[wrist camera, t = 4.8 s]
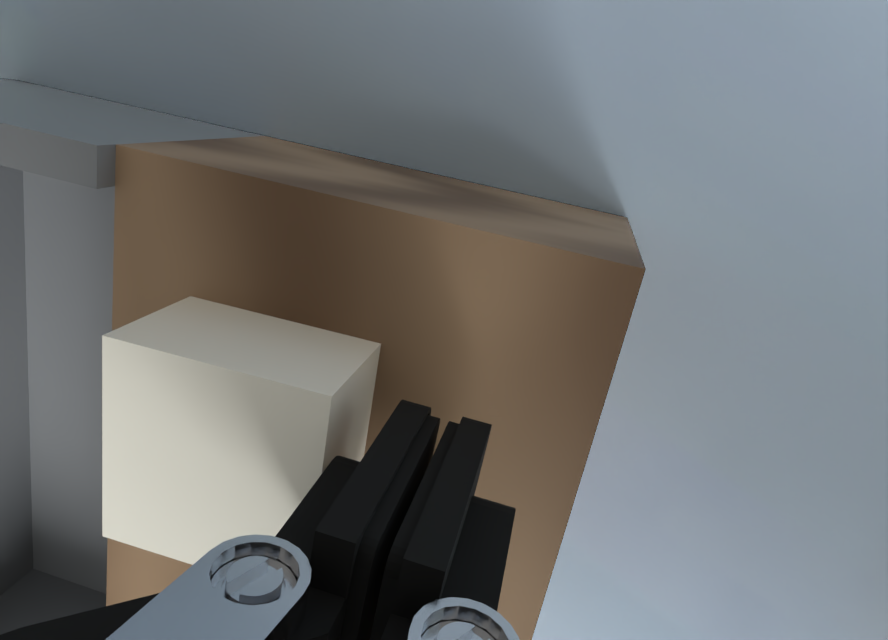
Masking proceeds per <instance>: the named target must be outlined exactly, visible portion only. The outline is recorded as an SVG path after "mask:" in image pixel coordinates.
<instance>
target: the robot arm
mask: <svg viewBox="0 0 888 640" xmlns="http://www.w3.org/2000/svg"><path fill="white" fill-rule="evenodd" d="M439 425H440V418H437V417H434V416H431V407H428V406H424V405H421V404H417V403H413V402H410V401H406V400H403V399H402V400H401V401H400V402H399V404H398V405H397V407H396V408H395V410H394V411H393V413H392V414H391V416H390V417H389V419H388V420H387V422H386V423H385V425H384V427H383V428H382V430H381V431H380V433H379V434H378V436H377V437H376V439H375V440H374V442H373V443H372V445H371V446H370V448H369V449H368V451H367V452H366V454H365V455H364V457H363V458H362V460H361V461H360V462H359V461H356V460H353V459H349V458H346V457H343V456H336V457H335V458H334V459H333V460H332V461H331V462H330V464H329V465H328V466H327V468H326V469H325V470H324V472H323V473H322V474H321V476H320V477H319V478H318V480H317V481H316V482H315V484H314V485H313V486H312V488H311V489H310V490H309V492H308V493H307V494H306V496H305V497H304V498H303V500H302V501H301V503H300V504H299V505H298V507H297V508H296V509H295V511H294V512H293V513H292V515H291V516H290V517H289V519H288V520H287V521H286V523H285V524H284V525H283V527H282V528H281V529H280V531H279V532H278V533H277V535H276V536H275V537H274V536H269V535H257V534H254V535H246V536H238V537H235V538H233V539H230V540H227V541H224V542H222V543H220V544H219V545H217V546H216V547H214V548H213V549H211V550H210V551H208V552H207V553H206V554H205V555H204V556H203V557H201V558H200V559H199V560H198V561H197V562H196V563H194V564H193V565H192V566H191V567H190V568H189V569H187V570H186V571H185V572H184V573H183V574H182V575H180V576H179V577H178V578H177V579H176V580H174V581H173V582H172V583H171V584H170V585H169V586H167V587H166V588H165V589H164V590H163V591H162V592H160V593H157V594H153V595H149V596H145V597H141V598H137V599H133V600H129V601H125V602H121V603H117V604H113V605H109V606H105V607H101V608H97V609H93V610H89V611H85V612H81V613H77V614H73V615H69V616H65V617H61V618H57V619H53V620H49V621H45V622H41V623H37V624H33V625H29V626H25V627H21V628H18V629H15V630H13V631H10V632H7V633H4V634H1V635H0V640H520V639H519V637H518V635H517V634H516V632H515V630H514V629H513V627H512V625H511V624H510V623H509V622H508V621H507V620H506V619H505V618H504V617H503V616H502V615H501V614H500V613H499V612H497V609H498V604H499V598H500V593H501V587H502V582H503V577H504V571H505V566H506V560H507V555H508V550H509V544H510V539H511V533H512V528H513V522H514V517H515V511H516V508H514V507H510V506H507V505H504V504H500V503H497V502H493V501H490V500H487V499H483V498H480V497H477V496H474V495H475V491H476V487H477V483H478V479H479V475H480V471H481V467H482V463H483V459H484V455H485V451H486V447H487V443H488V439H489V435H490V431H491V427H492V425H491V424H488V423H484V422H481V421H477V420H474V419H470V418H467V417H462V419H461V421H460V424H458V423H455V422H451V421H449V422H448V424H447V426H446V428H445V430H444V433H443V435H442V437H441V439H440V441H439V444H438V446H437V448H436V450H435V452H434V448H435V443H436V439H437V434H438V430H439ZM433 452H434V454H433Z"/></svg>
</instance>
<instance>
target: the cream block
mask: <svg viewBox="0 0 888 640" xmlns="http://www.w3.org/2000/svg"><path fill="white" fill-rule="evenodd" d="M380 348H381V344H380V343H376V342H372V341H368V340H364V339H360V338H356V337H352V336H348V335H344V334H340V333H336V332H332V331H328V330H324V329H320V328H316V327H312V326H308V325H304V324H300V323H296V322H292V321H288V320H284V319H280V318H276V317H272V316H268V315H264V314H260V313H256V312H252V311H248V310H244V309H240V308H236V307H232V306H228V305H224V304H220V303H216V302H212V301H208V300H204V299H200V298H196V297H192V296H190V297H187V298H185V299H183V300H181V301H178V302H176V303H174V304H172V305H169V306H167V307H165V308H163V309H160V310H158V311H156V312H154V313H151V314H149V315H147V316H145V317H142V318H140V319H138V320H136V321H133V322H131V323H129V324H127V325H124V326H122V327H120V328H118V329H115V330H113V331H111V332H109V333H106V334H104V335H102V536H103V537H106V538H110V539H113V540H116V541H119V542H122V543H125V544H128V545H132V546H135V547H138V548H141V549H144V550H147V551H150V552H154V553H157V554H160V555H163V556H166V557H169V558H172V559H176V560H179V561H182V562H185V563H188V564H191V565H193V564H194V563H196V562H197V561H198V560H199V559H200V558H201V557H203V556H204V555H205V554H206V553H207V552H208V551H210V550H211V549H213V548H214V547H216V546H217V545H219V544H220V543H222V542H224V541H227V540H230V539H233V538H235V537H238V536H246V535H254V534H257V535H269V536H274V537H275V536H276V535H277V533H278V532H279V531H280V529H281V528H282V527H283V525H284V524H285V523H286V521H287V520H288V519H289V517H290V516H291V515H292V513H293V512H294V511H295V509H296V508H297V507H298V505H299V504H300V503H301V501H302V500H303V498H304V497H305V496H306V494H307V493H308V492H309V490H310V489H311V488H312V486H313V485H314V484H315V482H316V481H317V480H318V478H319V477H320V476H321V474H322V473H323V472H324V470H325V469H326V468H327V466H328V465H329V464H330V462H331V461H332V460H333V459H334V458H335V457H336V456H343V457H346V458H349V459H353V460H356V461H359V462H360V461H361V460H362V458H363V457H364V452H365V445H366V439H367V432H368V426H369V419H370V413H371V406H372V400H373V393H374V387H375V380H376V374H377V367H378V361H379V354H380Z"/></svg>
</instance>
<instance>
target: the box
mask: <svg viewBox="0 0 888 640" xmlns="http://www.w3.org/2000/svg"><path fill="white" fill-rule="evenodd" d="M255 136H263V135H259V134H254V133H250V132H245V131H241V130H236V129H232V128H227V127H223V126H219V125H214V124H210V123H205V122H201V121H196V120H192V119H187V118H183V117H179V116H174V115H170V114H165V113H161V112H156V111H152V110H148V109H143V108H139V107H134V106H130V105H125V104H121V103H116V102H112V101H108V100H103V99H99V98H94V97H90V96H85V95H81V94H76V93H72V92H68V91H63V90H59V89H54V88H50V87H45V86H41V85H37V84H32V83H28V82H23V81H19V80H14V79H0V635H1V634H4V633H7V632H10V631H13V630H15V629H18V628H21V627H25V626H29V625H33V624H37V623H41V622H45V621H49V620H53V619H57V618H61V617H65V616H69V615H73V614H77V613H81V612H85V611H89V610H93V609H97V608H101V607H105V606H106V587H107V540H108V538H106V537H103V536H102V335H104V334H106V333H109V332H111V331H112V304H113V256H114V209H115V162H116V144H132V143H149V142H167V141H185V140H202V139H220V138H237V137H255Z"/></svg>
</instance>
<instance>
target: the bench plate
mask: <svg viewBox="0 0 888 640" xmlns="http://www.w3.org/2000/svg"><path fill="white" fill-rule="evenodd" d="M644 272H645V266H644V263H643V261H642V258H641V255H640V252H639V249H638V246H637V244H636V241H635V238H634V235H633V232H632V229H631V227H630V224H629V221H628V218H627V217H623V216H618V215H614V214H609V213H605V212H600V211H596V210H592V209H587V208H583V207H578V206H574V205H569V204H565V203H560V202H556V201H552V200H547V199H543V198H538V197H534V196H529V195H525V194H521V193H516V192H512V191H507V190H503V189H498V188H494V187H489V186H485V185H481V184H476V183H472V182H467V181H463V180H458V179H454V178H449V177H445V176H441V175H436V174H432V173H427V172H423V171H418V170H414V169H410V168H405V167H401V166H396V165H392V164H387V163H383V162H378V161H374V160H370V159H365V158H361V157H356V156H352V155H347V154H343V153H338V152H334V151H330V150H325V149H321V148H316V147H312V146H307V145H303V144H298V143H294V142H290V141H285V140H281V139H276V138H272V137H267V136H255V137H237V138H220V139H202V140H185V141H167V142H149V143H132V144H116V162H115V209H114V256H113V304H112V331H113V330H115V329H118V328H120V327H122V326H124V325H127V324H129V323H131V322H133V321H136V320H138V319H140V318H142V317H145V316H147V315H149V314H151V313H154V312H156V311H158V310H160V309H163V308H165V307H167V306H169V305H172V304H174V303H176V302H178V301H181V300H183V299H185V298H187V297H190V296H192V297H196V298H200V299H204V300H208V301H212V302H216V303H220V304H224V305H228V306H232V307H236V308H240V309H244V310H248V311H252V312H256V313H260V314H264V315H268V316H272V317H276V318H280V319H284V320H288V321H292V322H296V323H300V324H304V325H308V326H312V327H316V328H320V329H324V330H328V331H332V332H336V333H340V334H344V335H348V336H352V337H356V338H360V339H364V340H368V341H372V342H376V343H380V344H381V348H380V354H379V361H378V367H377V374H376V380H375V387H374V393H373V400H372V406H371V413H370V419H369V426H368V432H367V439H366V445H365V452H364V455H365V454H366V452H367V451H368V449H369V448H370V446H371V445H372V443H373V442H374V440H375V439H376V437H377V436H378V434H379V433H380V431H381V430H382V428H383V427H384V425H385V423H386V422H387V420H388V419H389V417H390V416H391V414H392V413H393V411H394V410H395V408H396V407H397V405H398V404H399V402H400V401H401V400H402V399H403V400H406V401H410V402H413V403H417V404H421V405H424V406H428V407H431V416H434V417H437V418H440V425H439V430H438V434H437V439H436V443H435V448H434V452H435V450H436V448H437V446H438V444H439V441H440V439H441V437H442V435H443V433H444V430H445V428H446V426H447V424H448V422H449V421H451V422H455V423H458V424H460V421H461V419H462V417H467V418H470V419H474V420H477V421H481V422H484V423H488V424H491V425H492V427H491V431H490V435H489V439H488V443H487V447H486V451H485V455H484V459H483V463H482V467H481V471H480V475H479V479H478V483H477V487H476V491H475V495H474V496H477V497H480V498H483V499H487V500H490V501H493V502H497V503H500V504H504V505H507V506H510V507H514V508H516V511H515V517H514V522H513V528H512V533H511V539H510V544H509V550H508V555H507V560H506V566H505V571H504V577H503V582H502V587H501V593H500V598H499V604H498V609H497V612H499V613H500V614H501V615H502V616H503V617H504V618H505V619H506V620H507V621H508V622H509V623H510V624H511V625H512V627H513V629H514V630H515V632H516V634H517V635H518V637H519V639H520V640H532V636H533V633H534V630H535V627H536V623H537V620H538V617H539V614H540V610H541V607H542V604H543V601H544V597H545V594H546V591H547V588H548V584H549V581H550V578H551V575H552V571H553V568H554V565H555V562H556V558H557V555H558V552H559V549H560V545H561V542H562V539H563V536H564V532H565V529H566V526H567V523H568V519H569V516H570V513H571V510H572V506H573V503H574V500H575V497H576V493H577V490H578V487H579V484H580V480H581V477H582V474H583V471H584V467H585V464H586V461H587V458H588V454H589V451H590V448H591V445H592V441H593V438H594V435H595V432H596V428H597V425H598V422H599V419H600V415H601V412H602V409H603V406H604V402H605V399H606V396H607V393H608V389H609V386H610V383H611V380H612V376H613V373H614V370H615V367H616V363H617V360H618V357H619V354H620V350H621V347H622V344H623V341H624V337H625V334H626V331H627V328H628V324H629V321H630V318H631V315H632V311H633V308H634V305H635V302H636V298H637V295H638V292H639V289H640V285H641V282H642V279H643V276H644ZM434 452H433V454H434ZM191 566H192V565H191V564H188V563H185V562H182V561H179V560H176V559H172V558H169V557H166V556H163V555H160V554H157V553H154V552H150V551H147V550H144V549H141V548H138V547H135V546H132V545H128V544H125V543H122V542H119V541H116V540H113V539H110V538H108V540H107V587H106V606H109V605H113V604H117V603H121V602H125V601H129V600H133V599H137V598H141V597H145V596H149V595H153V594H157V593H160V592H162V591H163V590H164V589H165V588H166V587H167V586H169V585H170V584H171V583H172V582H173V581H174V580H176V579H177V578H178V577H179V576H180V575H182V574H183V573H184V572H185V571H186V570H187V569H189V568H190V567H191Z"/></svg>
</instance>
